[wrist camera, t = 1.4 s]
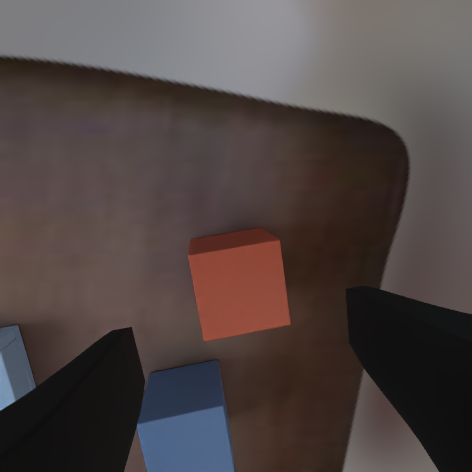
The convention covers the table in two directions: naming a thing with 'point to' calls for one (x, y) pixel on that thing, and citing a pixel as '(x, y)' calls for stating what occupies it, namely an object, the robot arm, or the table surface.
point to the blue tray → (13, 367)
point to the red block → (238, 283)
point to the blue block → (186, 421)
